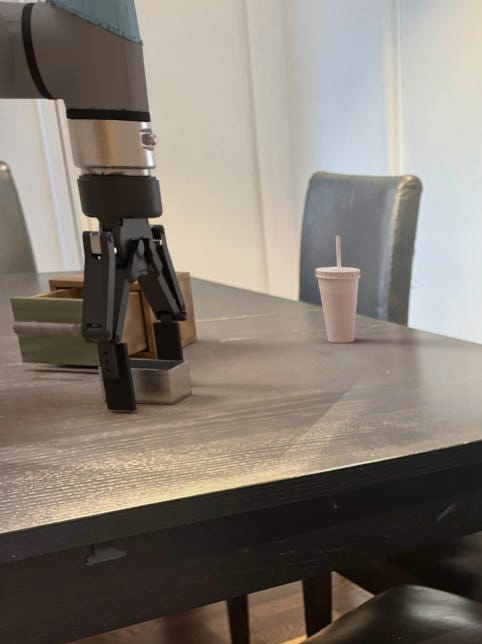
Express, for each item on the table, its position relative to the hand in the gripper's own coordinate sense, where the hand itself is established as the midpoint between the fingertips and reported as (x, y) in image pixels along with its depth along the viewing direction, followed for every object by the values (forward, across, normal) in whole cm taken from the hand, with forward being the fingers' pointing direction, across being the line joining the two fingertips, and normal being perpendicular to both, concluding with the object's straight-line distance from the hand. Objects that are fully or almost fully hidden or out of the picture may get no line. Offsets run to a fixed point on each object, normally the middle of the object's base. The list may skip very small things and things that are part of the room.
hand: (149, 395), depth 98 cm
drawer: (-1, +15, +14) cm, 21 cm away
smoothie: (0, +40, -12) cm, 42 cm away
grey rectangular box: (0, 0, 0) cm, 0 cm away
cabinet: (0, +28, +14) cm, 31 cm away
